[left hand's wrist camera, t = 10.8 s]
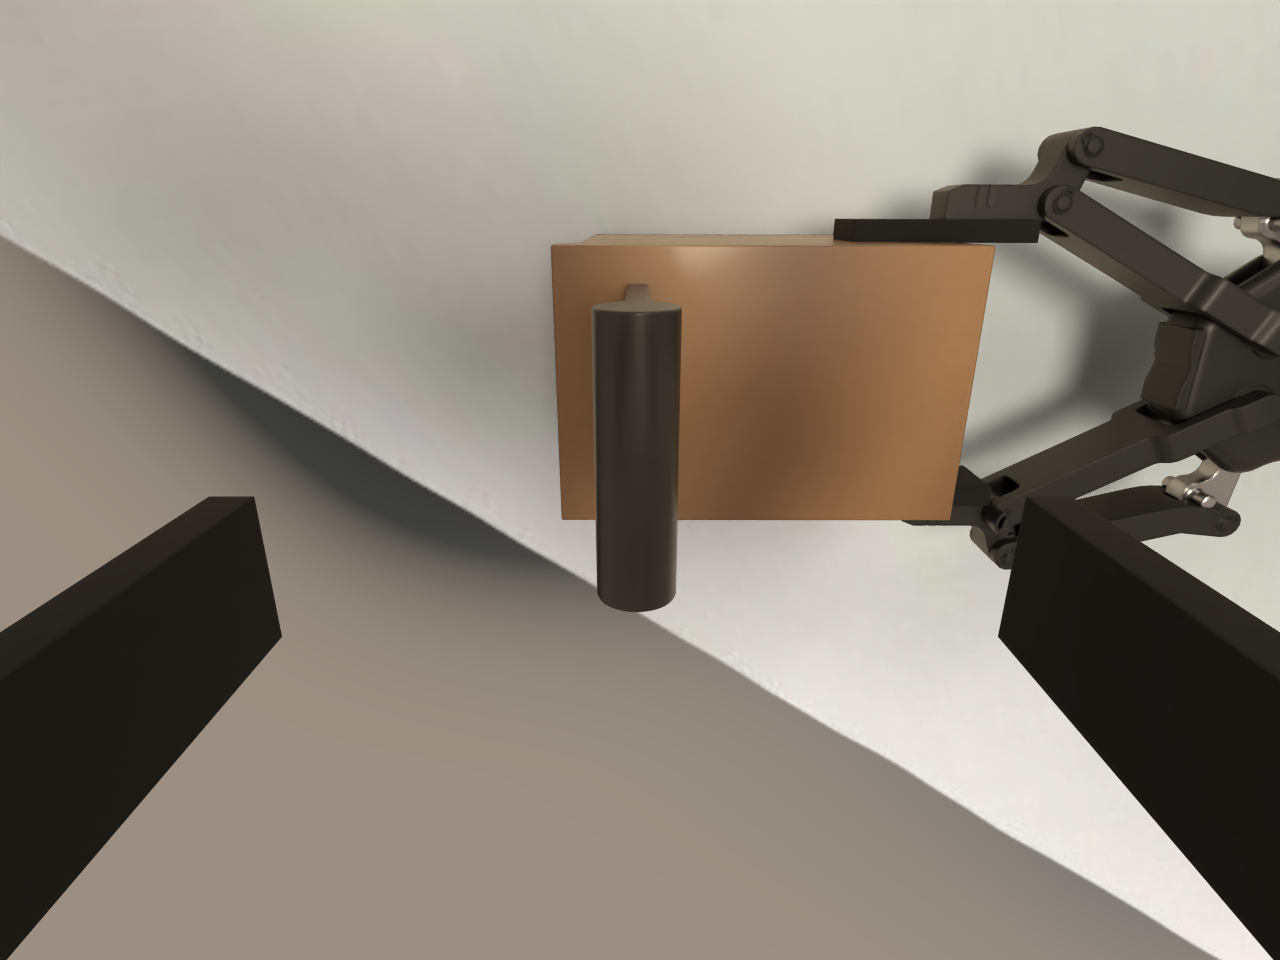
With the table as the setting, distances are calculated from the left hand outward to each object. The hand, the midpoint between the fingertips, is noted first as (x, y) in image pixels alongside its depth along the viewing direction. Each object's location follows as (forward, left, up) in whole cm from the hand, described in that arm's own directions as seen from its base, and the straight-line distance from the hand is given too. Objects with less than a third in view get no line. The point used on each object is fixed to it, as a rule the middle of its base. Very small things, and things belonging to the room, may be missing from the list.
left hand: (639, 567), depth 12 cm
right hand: (+6, +4, -17) cm, 18 cm away
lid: (+3, +2, -14) cm, 14 cm away
